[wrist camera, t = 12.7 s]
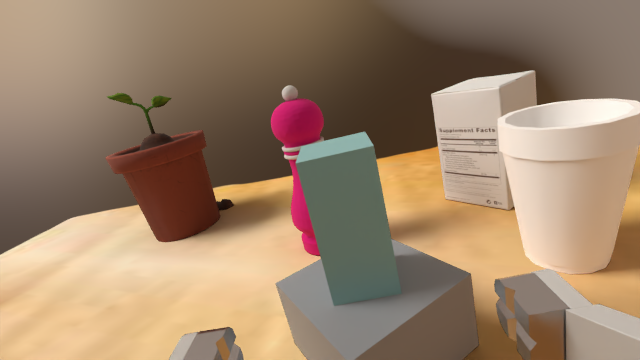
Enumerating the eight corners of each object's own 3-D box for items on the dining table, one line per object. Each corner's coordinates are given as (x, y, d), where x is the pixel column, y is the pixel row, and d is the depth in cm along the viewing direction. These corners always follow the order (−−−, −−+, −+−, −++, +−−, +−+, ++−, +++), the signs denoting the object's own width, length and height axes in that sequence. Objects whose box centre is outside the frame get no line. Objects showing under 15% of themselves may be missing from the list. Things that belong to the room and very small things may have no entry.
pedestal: (370, 442, 19) (349, 363, 17) (295, 343, 28) (275, 283, 26) (478, 345, 23) (470, 273, 22) (384, 285, 32) (373, 230, 30)
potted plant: (121, 263, 52) (45, 106, 45) (155, 215, 73) (107, 101, 65) (231, 228, 55) (177, 75, 47) (234, 191, 75) (197, 80, 68)
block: (401, 293, 21) (373, 145, 18) (333, 305, 22) (295, 163, 19) (389, 256, 26) (364, 131, 23) (332, 267, 26) (301, 146, 23)
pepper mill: (367, 234, 42) (332, 74, 36) (328, 264, 38) (282, 87, 32) (327, 225, 47) (292, 84, 41) (290, 250, 43) (244, 96, 37)
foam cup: (661, 253, 27) (675, 97, 24) (592, 303, 24) (595, 133, 21) (545, 219, 36) (542, 100, 32) (484, 253, 33) (472, 126, 29)
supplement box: (477, 177, 51) (467, 78, 47) (542, 184, 44) (538, 68, 39) (442, 199, 46) (428, 92, 42) (509, 212, 39) (500, 84, 35)
